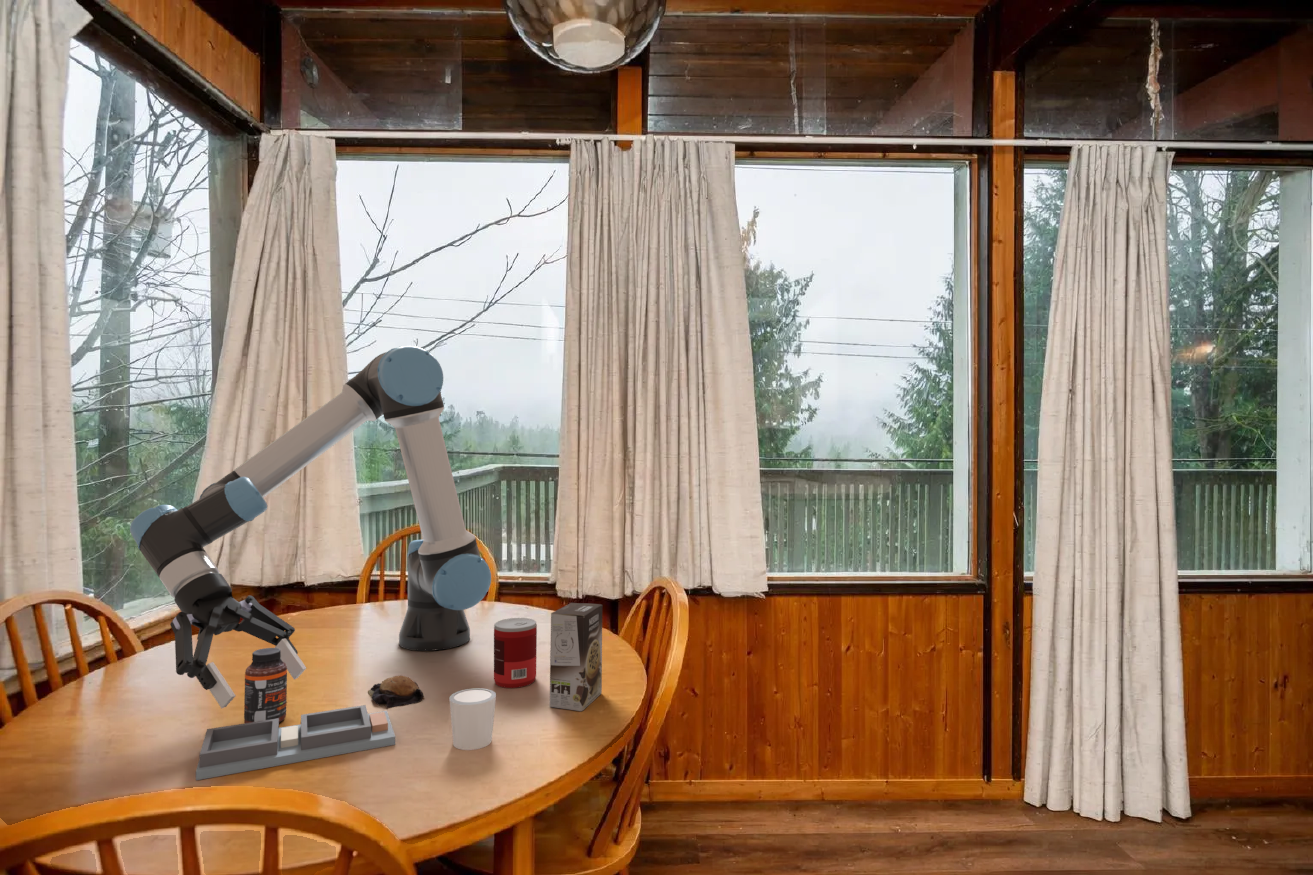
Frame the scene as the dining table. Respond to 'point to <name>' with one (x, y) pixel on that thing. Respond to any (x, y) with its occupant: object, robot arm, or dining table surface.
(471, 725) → the white short cylinder
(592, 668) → the grey food box
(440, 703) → the dining table surface
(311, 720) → the compartment tray
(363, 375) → the robot arm
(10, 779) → the dining table surface
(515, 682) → the canned food
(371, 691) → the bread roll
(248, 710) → the supplement bottle
